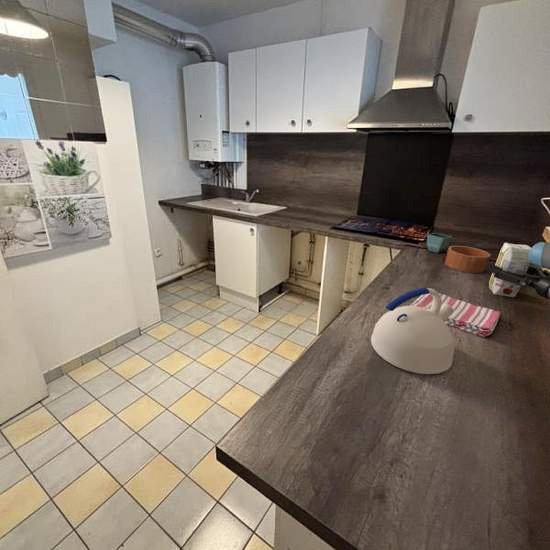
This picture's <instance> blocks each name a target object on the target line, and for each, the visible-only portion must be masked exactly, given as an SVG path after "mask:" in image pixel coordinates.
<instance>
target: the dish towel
mask: <svg viewBox="0 0 550 550" xmlns="http://www.w3.org/2000/svg"><path fill="white" fill-rule="evenodd" d="M438 293H439V292H438ZM439 295H440V297H441V299H442V305H443V303H447V304H449V305H450V306H451V307H452V308H453V310H454V313H451V314H450V315H449V316H448V317H447V318H446V319H445V320H444V322H445V323H446V325H447V326H448V325H449V326H450V327H454V328H457V329H460V330H462V331H464V332H467V333H470V334H472V335H475V336H480V337H482V338H485V337H488V336H490V335H491V334H493V331H494V330H495V328H496V326H497V324H498V321H499V319H500V315H501V313H502V311H499V310H494V309H491V308H487V307H483V306H479V305H475V304H472V303H470V302H467V301H463V300H460V299H457V298H454V297H451V296H449V295H446V294H443V293H439ZM432 303H433V296H432V294H424V295H420V296H418V298H416V299H415V300H414V301H413V302H412V303H411V304H410V305H409V306H417V307H422V308H425V309H430V308H431V306H432Z"/></svg>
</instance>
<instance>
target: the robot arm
mask: <svg viewBox="0 0 550 550" xmlns="http://www.w3.org/2000/svg"><path fill="white" fill-rule="evenodd" d="M528 259H529V262H530V264H532V265H535V266H536V267H539V268H536V267H534V266H531V265H529V267H528V269H527V272H526V274H523V275H521V274H517V273H513V272H509V271H505V270H503V269H502V268H500V267H498V266H496V265H495V264H493V263H491V262H488V263H487V265H486V268H485V271H488V272H490V273H491V274H492V273H494V277H495V278H498V279H501V280H504V281H507V282H510V283H513V284H517V285H519V286H521V287H520V288H526V287H529V288H532V289H534V290H535V294H536V295H538V296H539V297H542V298H543V299H546V300H548V301H550V242H543V241H539V242H537V243H535V244H534V245H533V246H532V247H531V250H530V252H529V254H528ZM542 269H543V270H542Z"/></svg>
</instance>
